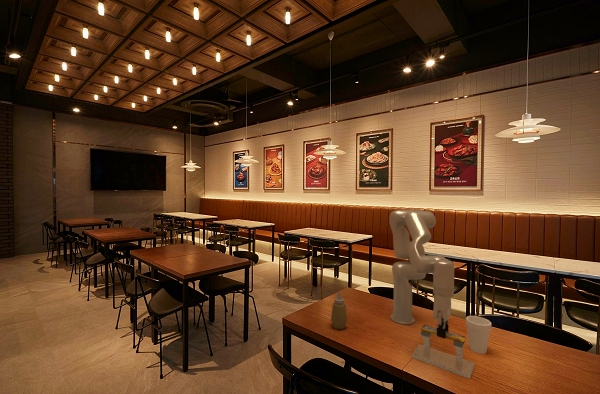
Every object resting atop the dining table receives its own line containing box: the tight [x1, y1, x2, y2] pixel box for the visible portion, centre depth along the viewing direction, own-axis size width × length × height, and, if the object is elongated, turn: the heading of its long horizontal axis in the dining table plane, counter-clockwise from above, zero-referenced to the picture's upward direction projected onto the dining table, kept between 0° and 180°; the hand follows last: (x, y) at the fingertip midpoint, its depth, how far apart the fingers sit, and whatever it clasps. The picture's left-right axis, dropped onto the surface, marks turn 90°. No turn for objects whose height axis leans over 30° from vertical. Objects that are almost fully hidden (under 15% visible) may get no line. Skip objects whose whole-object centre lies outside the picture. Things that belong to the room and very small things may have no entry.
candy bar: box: [420, 324, 468, 343], centre depth 114 cm, size 17×4×2 cm, turn 50°
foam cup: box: [465, 315, 492, 355], centre depth 122 cm, size 10×9×13 cm
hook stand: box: [411, 324, 475, 380], centre depth 113 cm, size 10×21×12 cm, turn 50°
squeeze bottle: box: [330, 291, 348, 330], centre depth 142 cm, size 8×8×18 cm
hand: (442, 334), depth 113 cm, fingers closed on candy bar, 4 cm apart
